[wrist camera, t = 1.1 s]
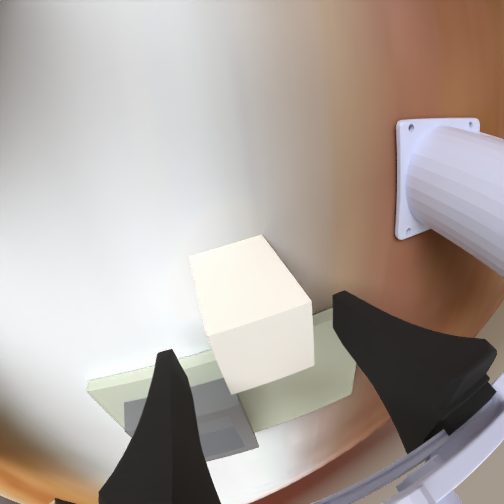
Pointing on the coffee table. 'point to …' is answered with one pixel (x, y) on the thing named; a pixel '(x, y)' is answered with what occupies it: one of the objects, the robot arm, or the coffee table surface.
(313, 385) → the plate
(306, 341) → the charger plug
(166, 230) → the coffee table surface
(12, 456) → the coffee table surface
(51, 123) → the coffee table surface
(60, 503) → the hardcover book
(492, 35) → the coffee table surface
